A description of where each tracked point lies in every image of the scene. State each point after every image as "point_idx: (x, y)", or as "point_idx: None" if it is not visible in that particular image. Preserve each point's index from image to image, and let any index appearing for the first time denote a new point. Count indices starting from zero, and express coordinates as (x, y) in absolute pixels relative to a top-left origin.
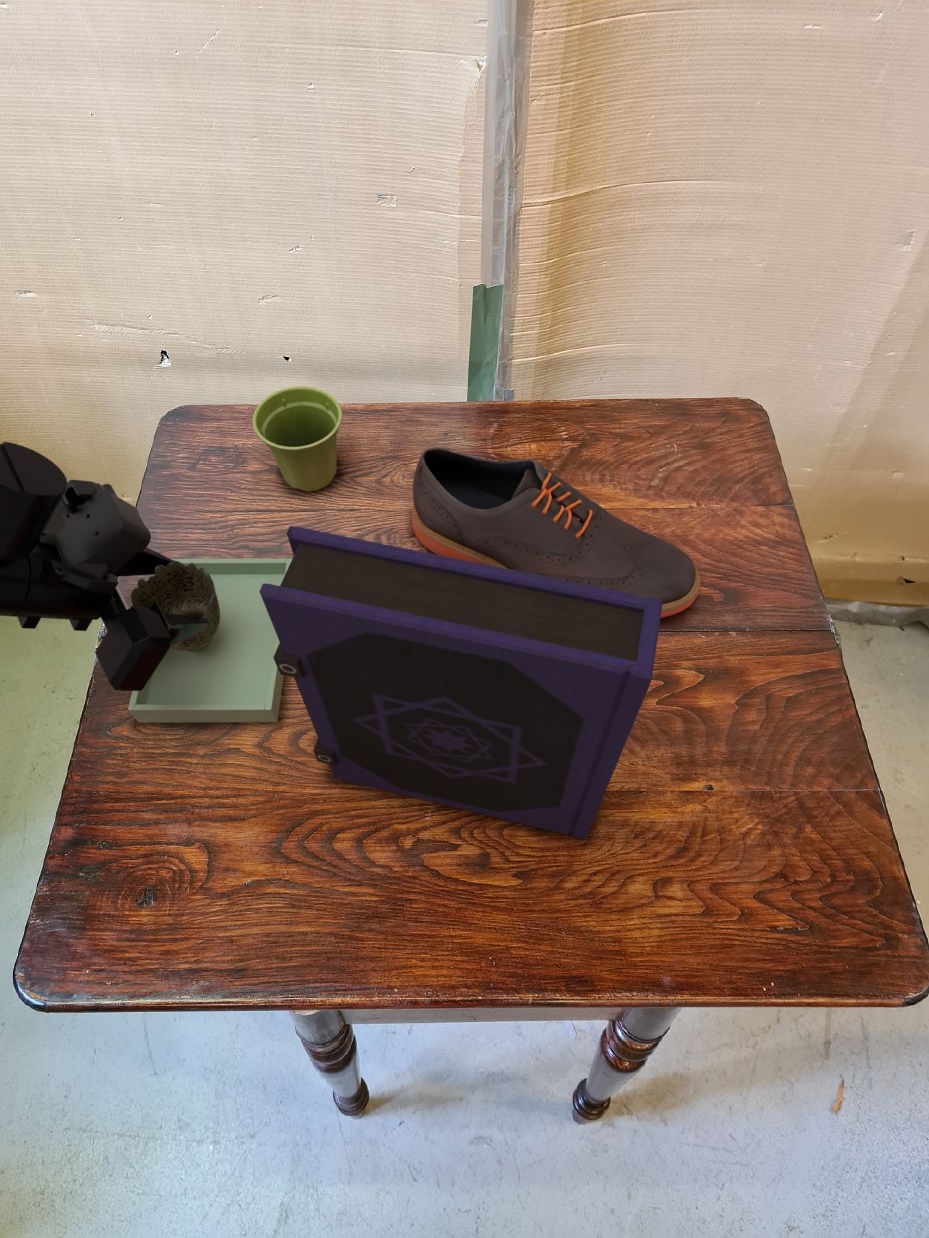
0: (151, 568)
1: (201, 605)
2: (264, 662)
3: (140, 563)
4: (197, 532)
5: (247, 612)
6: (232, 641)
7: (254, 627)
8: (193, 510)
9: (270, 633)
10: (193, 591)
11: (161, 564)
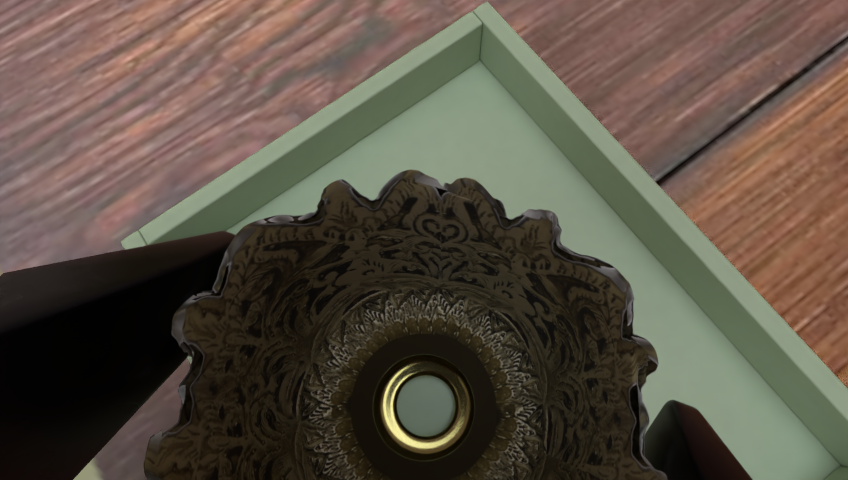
0: (156, 351)
1: (390, 309)
2: (663, 330)
3: (77, 386)
4: (132, 118)
5: None
6: None
7: None
8: (72, 74)
9: (595, 240)
10: (348, 288)
11: (190, 294)
